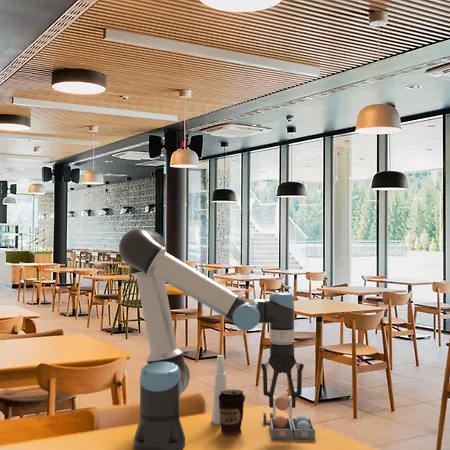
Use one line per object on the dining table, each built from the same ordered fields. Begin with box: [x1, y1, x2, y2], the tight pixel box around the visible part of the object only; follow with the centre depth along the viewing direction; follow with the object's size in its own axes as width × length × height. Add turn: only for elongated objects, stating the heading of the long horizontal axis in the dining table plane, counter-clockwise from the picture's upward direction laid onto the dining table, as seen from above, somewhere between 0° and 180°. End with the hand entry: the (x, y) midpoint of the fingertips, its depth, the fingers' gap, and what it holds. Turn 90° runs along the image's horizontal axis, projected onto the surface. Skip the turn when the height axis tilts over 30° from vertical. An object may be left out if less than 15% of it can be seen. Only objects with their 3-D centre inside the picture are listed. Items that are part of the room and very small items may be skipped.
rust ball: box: [274, 414, 287, 429], centre depth 196 cm, size 4×4×4 cm
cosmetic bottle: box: [210, 354, 228, 425], centre depth 205 cm, size 6×6×22 cm
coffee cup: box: [219, 389, 246, 436], centre depth 193 cm, size 9×8×13 cm
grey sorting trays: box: [269, 417, 316, 441], centre depth 193 cm, size 13×12×3 cm
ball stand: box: [262, 412, 273, 426], centre depth 203 cm, size 3×3×3 cm
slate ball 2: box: [296, 421, 311, 430], centre depth 190 cm, size 4×4×4 cm
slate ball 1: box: [295, 414, 309, 427], centre depth 196 cm, size 4×4×4 cm
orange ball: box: [276, 395, 289, 411], centre depth 190 cm, size 4×4×4 cm
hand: (282, 417), depth 190 cm, fingers closed on orange ball, 4 cm apart
